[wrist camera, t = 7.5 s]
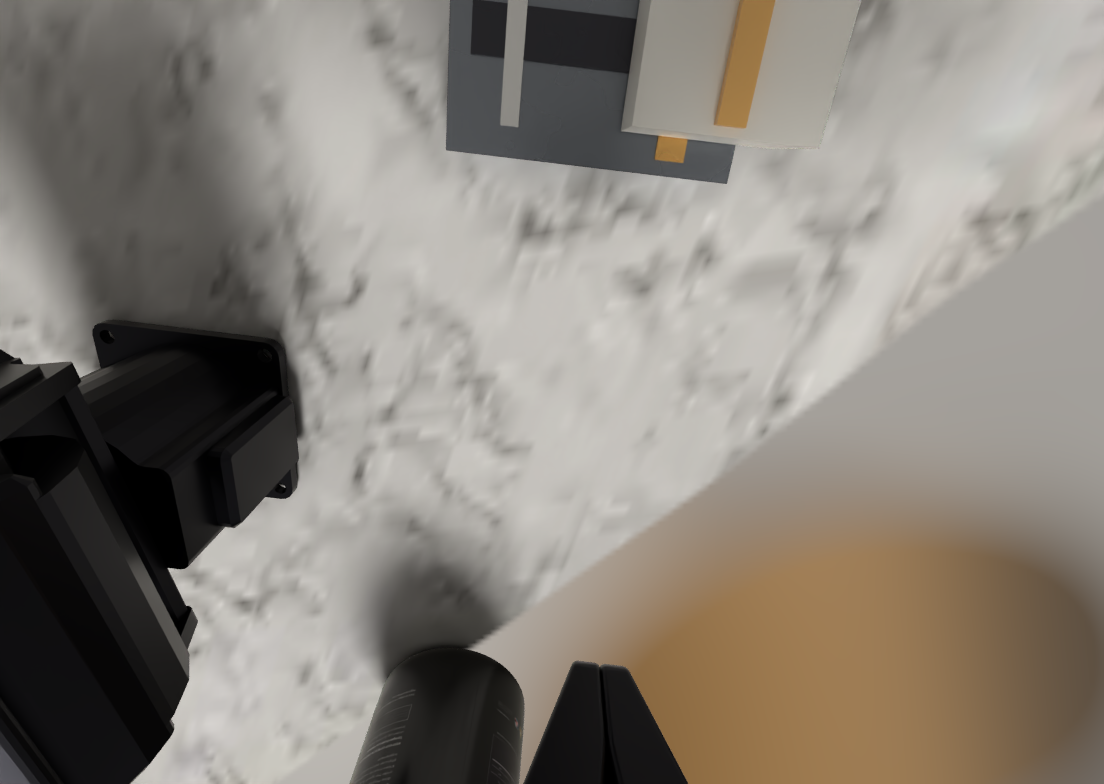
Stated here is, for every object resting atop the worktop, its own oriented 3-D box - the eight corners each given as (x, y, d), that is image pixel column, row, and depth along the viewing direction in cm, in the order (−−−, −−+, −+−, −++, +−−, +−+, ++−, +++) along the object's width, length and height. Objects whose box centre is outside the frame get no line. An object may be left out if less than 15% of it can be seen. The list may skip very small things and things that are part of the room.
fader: (620, 131, 15) (633, 125, 11) (647, -53, 13) (671, -125, 10) (767, 148, 15) (825, 148, 11) (812, -32, 13) (895, -98, 10)
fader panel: (454, 149, 17) (445, 150, 15) (463, -103, 14) (452, -127, 13) (717, 181, 17) (727, 184, 15) (771, -66, 14) (788, -86, 13)
